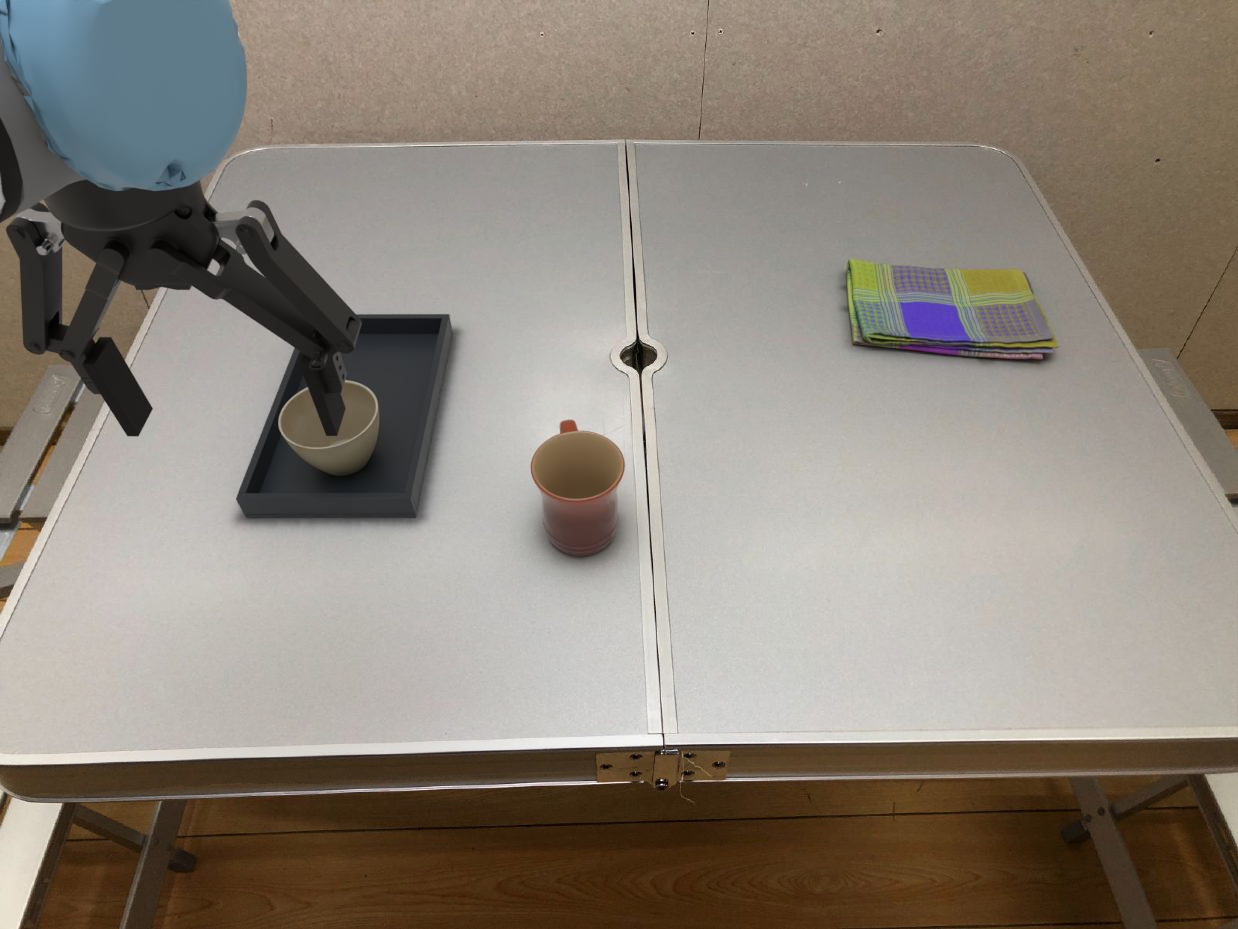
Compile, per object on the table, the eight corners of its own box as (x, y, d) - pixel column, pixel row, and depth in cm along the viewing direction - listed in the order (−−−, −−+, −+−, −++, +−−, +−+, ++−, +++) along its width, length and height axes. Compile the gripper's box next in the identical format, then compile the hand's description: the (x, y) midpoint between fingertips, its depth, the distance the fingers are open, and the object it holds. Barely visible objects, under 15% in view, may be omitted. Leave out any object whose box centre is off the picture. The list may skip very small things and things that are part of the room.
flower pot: (363, 413, 96) (348, 366, 90) (409, 463, 91) (396, 416, 85) (282, 455, 91) (261, 408, 86) (324, 509, 86) (305, 463, 81)
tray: (416, 517, 86) (410, 498, 84) (245, 518, 86) (235, 499, 84) (453, 333, 106) (449, 313, 104) (314, 333, 106) (307, 314, 104)
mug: (631, 559, 83) (633, 493, 75) (544, 573, 82) (536, 507, 74) (610, 470, 91) (609, 401, 83) (530, 481, 90) (522, 413, 82)
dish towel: (843, 267, 115) (847, 250, 113) (1025, 279, 114) (1033, 262, 111) (852, 350, 104) (856, 332, 102) (1054, 365, 102) (1063, 348, 100)
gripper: (357, 93, 45) (425, 384, 61) (-110, 94, 45) (81, 385, 61) (324, 164, 40) (408, 461, 56) (-200, 165, 40) (33, 462, 56)
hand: (238, 422), depth 58 cm, fingers open, 13 cm apart
